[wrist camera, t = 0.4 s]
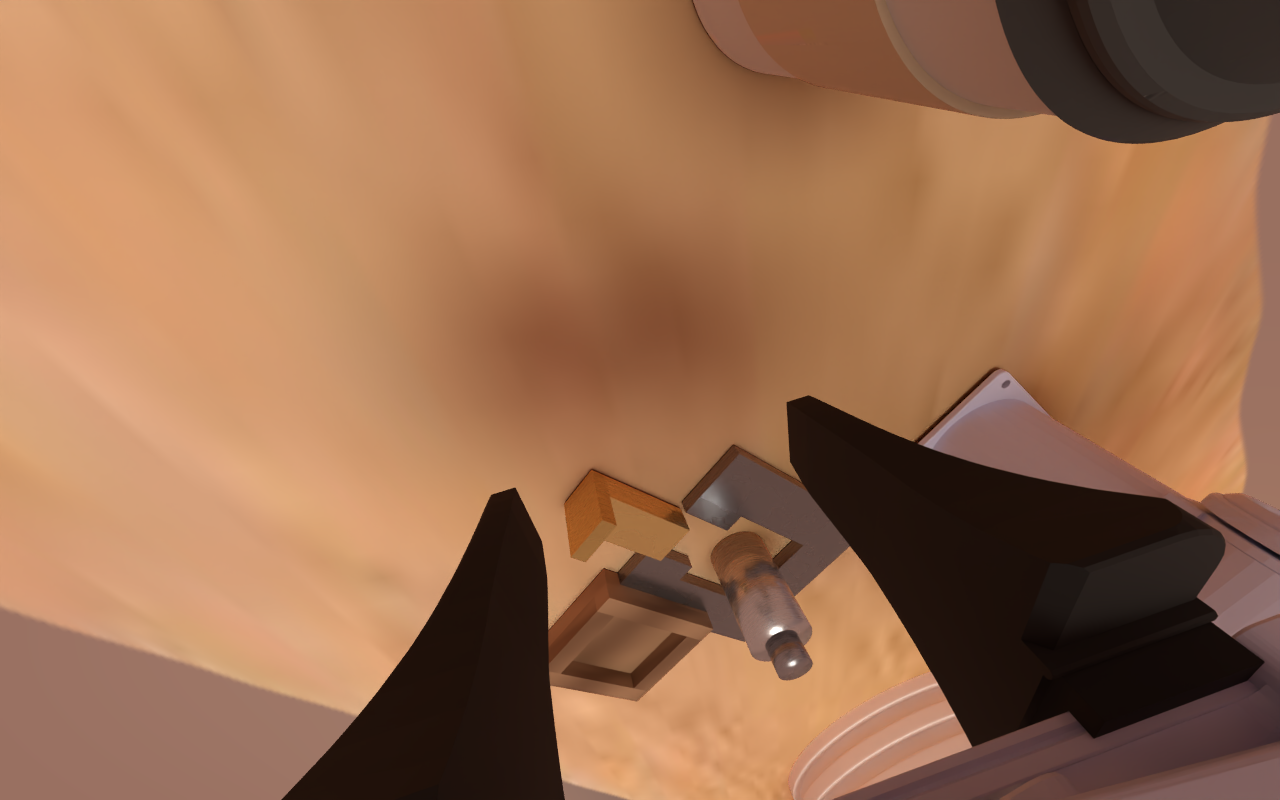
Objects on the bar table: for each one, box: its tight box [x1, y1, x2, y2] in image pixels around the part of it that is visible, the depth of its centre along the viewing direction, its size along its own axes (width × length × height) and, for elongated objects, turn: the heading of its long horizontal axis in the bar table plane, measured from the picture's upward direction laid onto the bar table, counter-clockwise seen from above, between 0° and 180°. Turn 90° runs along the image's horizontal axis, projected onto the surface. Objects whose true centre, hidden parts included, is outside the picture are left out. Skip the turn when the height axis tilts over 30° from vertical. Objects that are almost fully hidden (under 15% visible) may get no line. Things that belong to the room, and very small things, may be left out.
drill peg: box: [711, 532, 813, 680], centre depth 27 cm, size 3×3×8 cm
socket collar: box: [618, 445, 850, 642], centre depth 30 cm, size 12×12×1 cm
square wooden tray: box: [548, 569, 713, 701], centre depth 31 cm, size 8×8×2 cm
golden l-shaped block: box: [564, 470, 689, 562], centre depth 25 cm, size 6×2×4 cm, turn 53°
